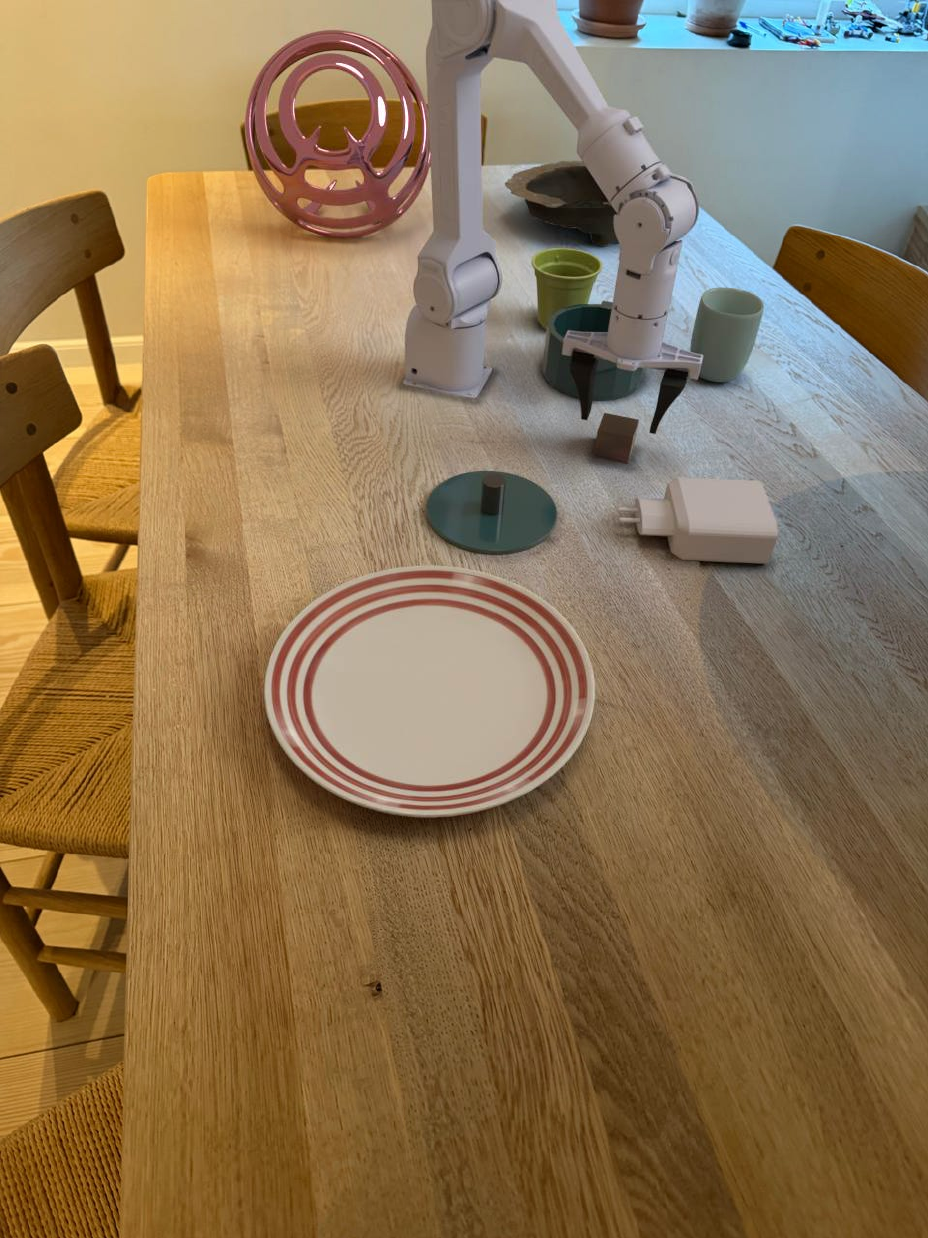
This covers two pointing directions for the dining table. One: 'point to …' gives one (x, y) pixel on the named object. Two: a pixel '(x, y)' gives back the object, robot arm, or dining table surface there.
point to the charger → (710, 520)
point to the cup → (725, 332)
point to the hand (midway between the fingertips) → (619, 422)
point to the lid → (491, 512)
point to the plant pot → (563, 279)
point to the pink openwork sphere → (358, 150)
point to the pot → (556, 365)
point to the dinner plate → (429, 691)
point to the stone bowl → (566, 198)
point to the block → (615, 438)
